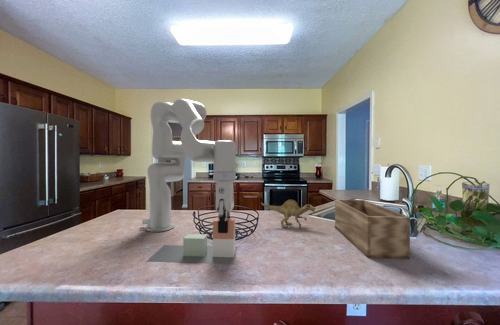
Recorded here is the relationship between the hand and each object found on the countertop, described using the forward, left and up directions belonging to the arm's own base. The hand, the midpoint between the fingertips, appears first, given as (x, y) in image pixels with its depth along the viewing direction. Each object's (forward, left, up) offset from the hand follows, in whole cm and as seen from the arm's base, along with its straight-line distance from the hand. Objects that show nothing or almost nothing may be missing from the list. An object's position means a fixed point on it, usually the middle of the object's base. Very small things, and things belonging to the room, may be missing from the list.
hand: (224, 229), depth 73 cm
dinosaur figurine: (+26, +36, -10) cm, 46 cm away
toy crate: (+56, +18, -9) cm, 60 cm away
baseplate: (-10, 0, -9) cm, 14 cm away
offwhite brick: (0, 0, -9) cm, 9 cm away
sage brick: (-10, 0, -9) cm, 13 cm away
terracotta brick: (0, 0, -3) cm, 3 cm away
